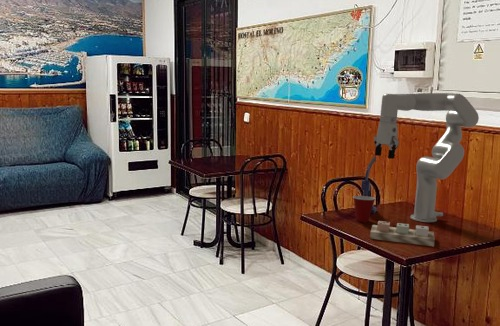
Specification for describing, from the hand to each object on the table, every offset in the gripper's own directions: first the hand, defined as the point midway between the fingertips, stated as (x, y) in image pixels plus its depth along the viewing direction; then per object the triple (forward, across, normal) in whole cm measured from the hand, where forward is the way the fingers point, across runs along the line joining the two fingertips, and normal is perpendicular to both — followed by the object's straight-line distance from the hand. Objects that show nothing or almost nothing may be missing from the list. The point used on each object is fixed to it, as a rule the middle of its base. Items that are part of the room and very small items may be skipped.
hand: (384, 156), depth 238 cm
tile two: (+30, -23, +5) cm, 38 cm away
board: (+32, -23, +5) cm, 40 cm away
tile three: (+30, -18, +11) cm, 37 cm away
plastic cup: (+32, +6, +4) cm, 33 cm away
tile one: (+30, -29, -1) cm, 41 cm away
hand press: (+32, +22, -10) cm, 40 cm away
